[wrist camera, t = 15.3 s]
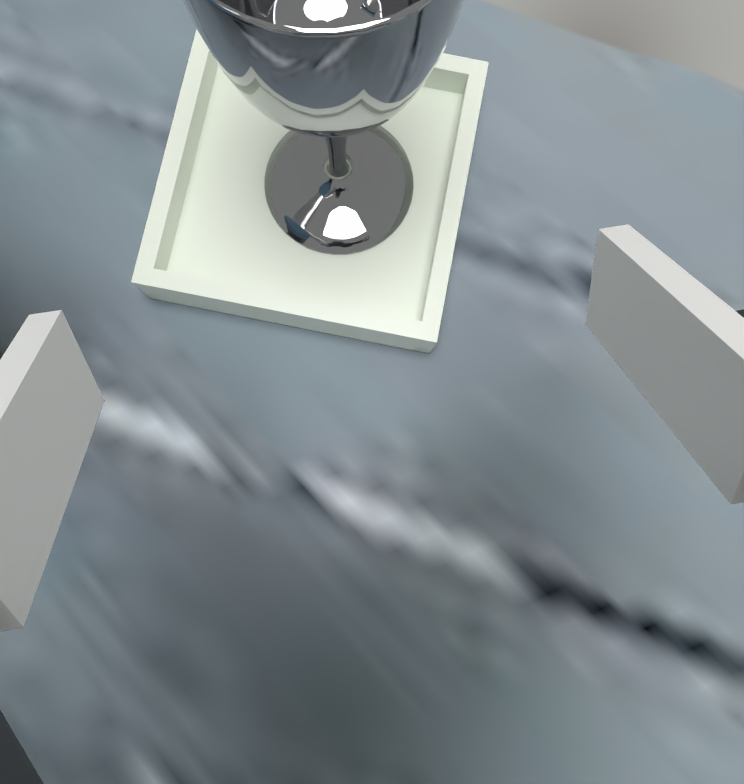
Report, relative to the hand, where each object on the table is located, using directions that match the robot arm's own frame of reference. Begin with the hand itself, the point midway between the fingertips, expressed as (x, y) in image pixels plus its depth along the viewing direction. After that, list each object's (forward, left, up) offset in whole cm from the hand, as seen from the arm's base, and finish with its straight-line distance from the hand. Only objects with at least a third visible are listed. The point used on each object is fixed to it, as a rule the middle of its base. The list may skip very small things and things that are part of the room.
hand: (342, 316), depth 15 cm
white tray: (-3, +9, -13) cm, 17 cm away
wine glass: (-2, +10, -13) cm, 16 cm away
